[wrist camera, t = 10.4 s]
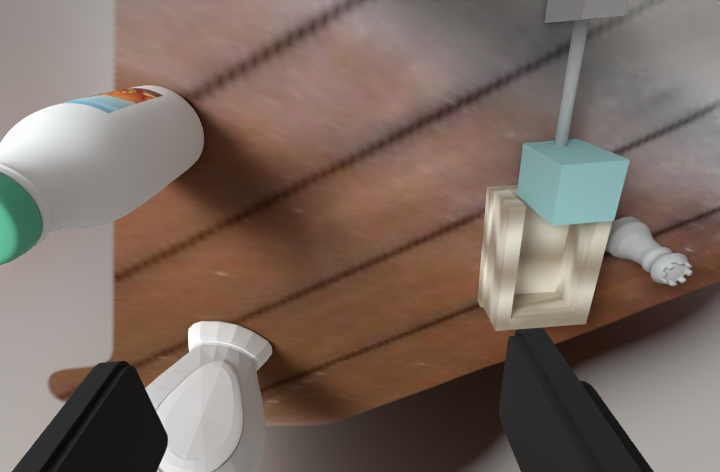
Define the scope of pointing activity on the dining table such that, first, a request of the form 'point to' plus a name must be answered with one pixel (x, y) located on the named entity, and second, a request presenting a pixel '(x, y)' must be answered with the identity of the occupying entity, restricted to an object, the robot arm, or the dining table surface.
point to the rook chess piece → (646, 251)
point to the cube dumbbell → (573, 141)
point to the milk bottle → (91, 162)
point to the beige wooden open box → (536, 265)
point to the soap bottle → (213, 401)
